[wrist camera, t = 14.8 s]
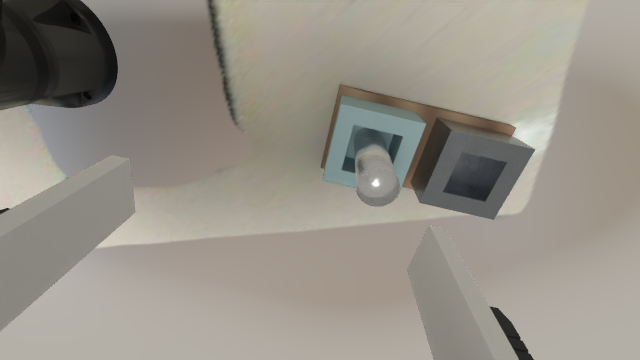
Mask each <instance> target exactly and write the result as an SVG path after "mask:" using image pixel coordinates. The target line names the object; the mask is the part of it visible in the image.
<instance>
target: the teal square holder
mask: <svg viewBox="0 0 640 360" xmlns="http://www.w3.org/2000/svg"><path fill="white" fill-rule="evenodd" d="M425 126H426V123H425V122H424V121H423V120H422V119H421V118H420V117H419V116H418V115H417V114H416V113H415V112H413V111H409V110H404V109H400V108H396V107H392V106H387V105H383V104H379V103H375V102H370V101H366V100H362V99H358V98H353V97H349V96H345V95H342V96H341V100H340V104H339V109H338V113H337V117H336V121H335V125H334V129H333V133H332V137H331V142H330V146H329V150H328V154H327V158H326V162H325V168H324V174H323V181H327V182H332V183H336V184H340V185H345V186H349V187H353V188H357V187H356V172H355V158H354V143H353V139H354V136H355V134H356V133H357V131H359V130H360V129H361V128H364V127H366V128H370V129H374V130H378V131H380V133H381V134H382V137H383V139H384V142H385V145H386V147H387V150H388V153H389V155H390V158H391V161H392V163H393V166H394V169H395V171H396V174H397V177H398V179H399V182H400V190H401V187H402V185H403V182H404V179H405V177H406V174H407V172H408V169H409V167H410V164H411V162H412V159H413V156H414V154H415V151H416V149H417V146H418V144H419V141H420V139H421V136H422V133H423V131H424V128H425ZM399 192H400V191H399ZM398 195H399V194H398ZM397 197H398V196H397Z"/></svg>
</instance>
